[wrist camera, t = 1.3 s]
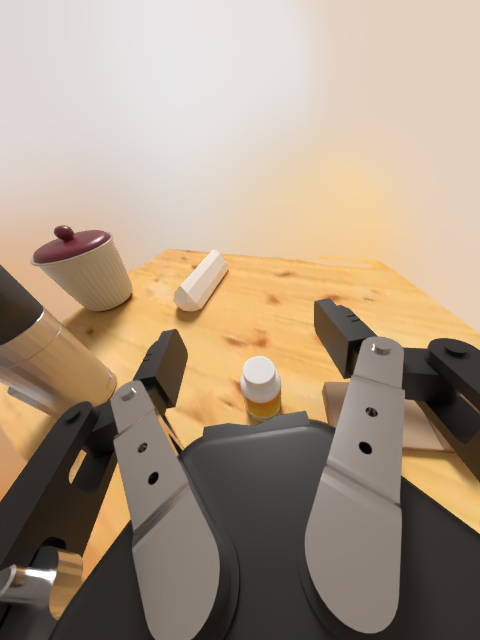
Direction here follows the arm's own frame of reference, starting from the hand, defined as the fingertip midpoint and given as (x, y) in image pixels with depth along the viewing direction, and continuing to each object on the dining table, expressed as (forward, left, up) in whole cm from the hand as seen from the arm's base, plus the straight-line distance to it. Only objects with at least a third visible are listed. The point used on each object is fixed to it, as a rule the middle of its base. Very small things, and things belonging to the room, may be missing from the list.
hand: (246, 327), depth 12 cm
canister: (-23, +53, -23) cm, 62 cm away
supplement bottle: (+2, +5, -23) cm, 23 cm away
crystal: (+4, +42, -23) cm, 48 cm away
